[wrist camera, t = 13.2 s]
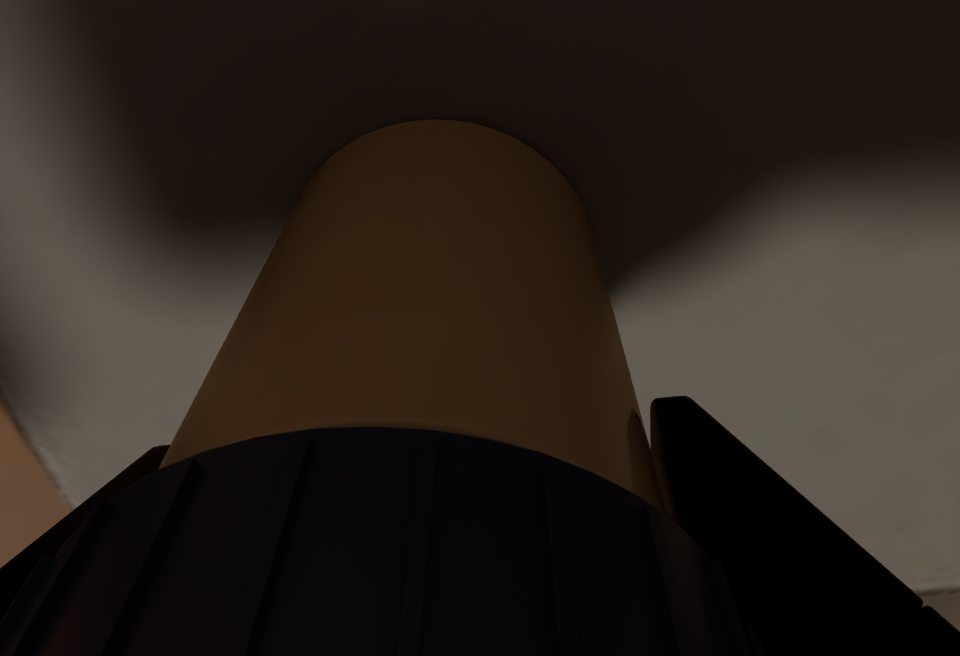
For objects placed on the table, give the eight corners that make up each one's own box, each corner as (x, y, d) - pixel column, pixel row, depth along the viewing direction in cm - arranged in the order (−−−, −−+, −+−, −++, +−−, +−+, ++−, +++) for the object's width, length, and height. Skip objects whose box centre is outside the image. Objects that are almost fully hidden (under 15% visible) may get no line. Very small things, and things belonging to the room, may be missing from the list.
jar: (316, 392, 14) (94, 1116, 6) (258, 125, 11) (-297, 825, 3) (589, 384, 14) (726, 1115, 6) (600, 109, 11) (892, 807, 3)
